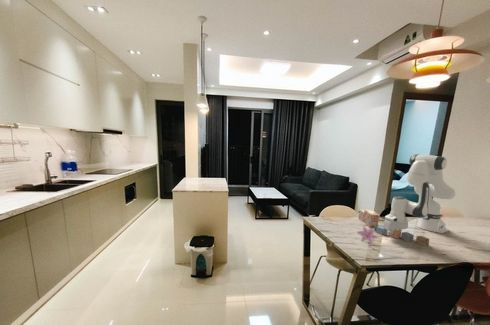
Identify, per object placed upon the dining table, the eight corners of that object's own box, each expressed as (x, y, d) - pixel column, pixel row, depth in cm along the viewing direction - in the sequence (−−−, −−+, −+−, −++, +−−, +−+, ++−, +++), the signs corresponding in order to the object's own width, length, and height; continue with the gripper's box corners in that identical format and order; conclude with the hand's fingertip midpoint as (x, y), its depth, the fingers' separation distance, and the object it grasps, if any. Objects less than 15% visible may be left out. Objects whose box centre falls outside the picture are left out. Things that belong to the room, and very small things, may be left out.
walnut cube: (420, 242, 146) (421, 235, 145) (428, 245, 141) (429, 238, 140) (415, 242, 144) (416, 236, 144) (423, 246, 139) (424, 239, 139)
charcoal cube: (405, 238, 151) (406, 231, 151) (412, 241, 146) (413, 234, 146) (400, 238, 150) (401, 232, 149) (407, 241, 145) (408, 235, 144)
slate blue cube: (381, 231, 161) (381, 225, 161) (386, 234, 156) (387, 228, 156) (376, 232, 160) (376, 226, 159) (381, 234, 155) (382, 228, 155)
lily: (354, 238, 149) (355, 230, 144) (365, 230, 153) (366, 222, 148) (368, 250, 140) (370, 242, 135) (380, 242, 143) (382, 233, 138)
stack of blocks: (358, 218, 188) (359, 206, 187) (365, 219, 188) (366, 206, 187) (369, 228, 167) (371, 214, 166) (377, 228, 167) (379, 214, 165)
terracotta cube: (394, 234, 156) (394, 228, 155) (400, 237, 151) (401, 231, 150) (389, 235, 154) (389, 229, 154) (395, 238, 150) (396, 232, 149)
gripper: (403, 215, 157) (401, 231, 158) (383, 216, 152) (381, 233, 153) (411, 218, 151) (409, 235, 152) (390, 219, 146) (388, 237, 147)
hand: (395, 234), depth 153 cm, fingers closed on terracotta cube, 5 cm apart
